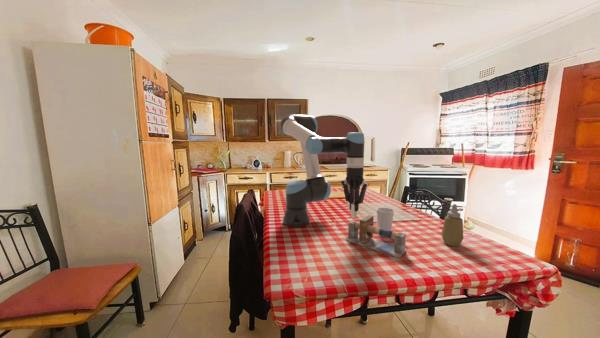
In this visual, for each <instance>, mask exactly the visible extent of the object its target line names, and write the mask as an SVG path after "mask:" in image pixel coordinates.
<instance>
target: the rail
mask: <svg viewBox="0 0 600 338" xmlns="http://www.w3.org/2000/svg"><path fill="white" fill-rule="evenodd" d="M347 226H348V227H347V232H348V233H347V237H346V238H345V241H346V242H350V243H353V244H355V245H359V246H363V247H365V248H368V249H371V250H374V251H377V252H380V253H382V254H386V255H389V256H392V257H395V258H398V259H401V258H402V256H403V255H404V254H405V253H406V252H407V248H406V237H407V236H406V233H404V232H400V231H396V230H395V231H392V230H391V231H390V230H386V229H382V228H379V227H378V226H375V225H373V226H371V225H369V226H367V227H366V231H367V232H371V233H373V235H378V236H382V237H386V238H389V239H392V240H393V241H394V243H393V244H391V243H389V242H386V241H385V242H384V241H381V240H378V239H374V238H371V239H370V240H368V241H367V242H366V243H361V242H359V229H360V221H356V220H355V219H354V220H351V221H349V222H348V225H347Z"/></svg>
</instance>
